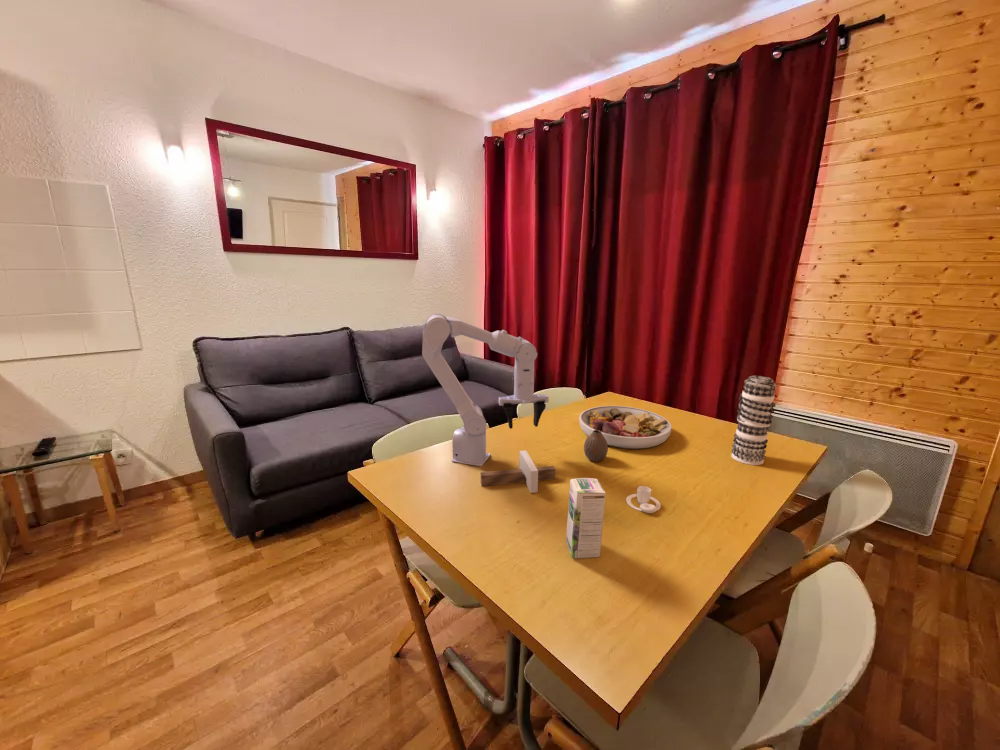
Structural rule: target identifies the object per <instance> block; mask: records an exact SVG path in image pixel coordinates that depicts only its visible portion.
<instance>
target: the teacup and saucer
mask: <svg viewBox="0 0 1000 750" xmlns="http://www.w3.org/2000/svg"><path fill="white" fill-rule="evenodd" d="M636 490H637V491H636V492H637V493H632V494H629V495H628V496H627V497H626V503H627V505H628V506H629V507H630V508H632V509H634V510H636V511H638V512H644V513H646V514H653V513H655V512H658V511H659V510H660V509H661V508H662V504H661V503H660V501H659V499H656V498H655V497H653V496H651V495H652V489H651V488H650V487H648V486H646V485H645V486H644V485H639V486H638V487H637V488H636ZM635 497H637V499H636V500H637V503H638V504H639V507H637V506H635V505H634V504H633V503H632V499H633V498H635ZM650 500H652V501H653V502H654V503H655V505H654V504H653V503H649V502H650Z"/></svg>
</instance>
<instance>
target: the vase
mask: <svg viewBox="0 0 1000 750" xmlns="http://www.w3.org/2000/svg"><path fill="white" fill-rule="evenodd" d="M608 446H609V445H608V444H607V441H606V439H605V438H604V436H603V435H602V433H601V431H599V430H593V432H592V433H591V434H590V435H589V436H588V435H587V437H586V439H585V441H584V444H583V452H584V455H585V457H586V458H587V459H588V460H589V461H591V462H594V463H596V462H597V463H598V462H601V461H604V459H605V458H606V457H607V454H608V450H609V447H608Z"/></svg>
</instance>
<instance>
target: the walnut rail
mask: <svg viewBox="0 0 1000 750" xmlns="http://www.w3.org/2000/svg"><path fill="white" fill-rule="evenodd" d="M536 468H537V470H538V482H539V481H549V480H556V470H557V469H556V467H555V466H554V465H548V466H547V465H545V466H537V467H536ZM518 483H526V477H525V475H524V474H523V472H522V470H521V469H519V468H516V469H515V468H514V469H504V470H503V469H501V470H493V471H484V472H480V485H481V487H488V486H497V485H506V484H507V485H509V484H518Z"/></svg>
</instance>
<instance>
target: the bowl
mask: <svg viewBox="0 0 1000 750" xmlns="http://www.w3.org/2000/svg"><path fill="white" fill-rule="evenodd" d="M578 421H579V425H580V428H581V430H582V432H584V434H585V435H587V437H588V436H589V435H590V434H591V433H592V432H593V430H599V431H601V433H602V435H603V436H604V438H605V439H606V441H607V444H608V446H611V447H615V448H621V449H635V450H637V449H638V450H639V449H648V448H652V447H656V446H658V445H660V444H662V443H664V442H665V441H666V440H668V438H669V437H670V435H671V433H672V424H671V422H670V421H669V420H668V419H667V418H665V417H664V416H662V415H660V414H658V413H656V412H653V411H650V410H648V409H647V410H646V409H643V408H638V407H633V406H626V405H625V406H624V405H623V406H622V405H601V406H595V407H591V408H588V409H585V410H584V411H582V412H581V413H580V414H579V417H578Z"/></svg>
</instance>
